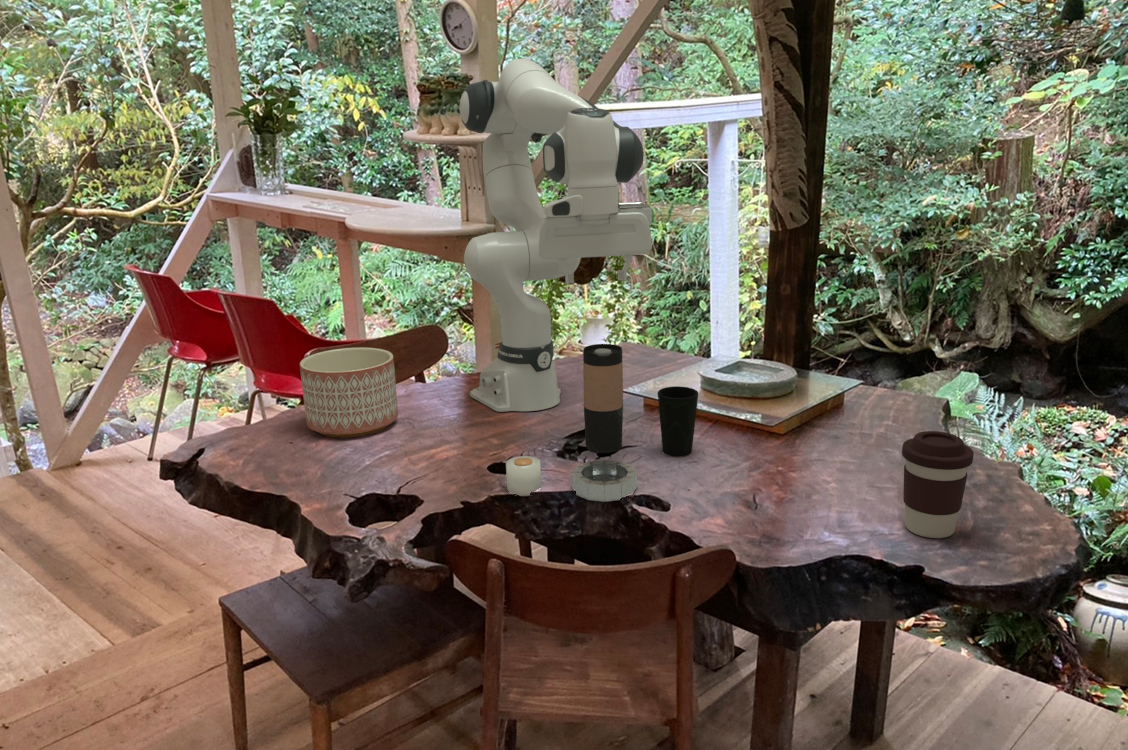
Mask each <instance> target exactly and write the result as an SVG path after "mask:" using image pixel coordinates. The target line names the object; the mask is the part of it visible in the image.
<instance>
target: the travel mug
mask: <svg viewBox="0 0 1128 750" xmlns="http://www.w3.org/2000/svg"><path fill="white" fill-rule="evenodd" d="M582 355H583V356H582V358H583V360H582V361H583V362H582V365H583V366H582V368H583V369H582V370H583V371H582V372H583V374H582V375H583V414H584V415H583V417H584V418H583V420H584V437H585V438H584V439H585V448H586V450H588V451H589V452H592V453H596V454H610V453H615V452H618V451H620V450H621V449H622V448H623V427H624V425H623V423H624V421H623V419H624V382H623V381H624V379H623V377H624V376H623V375H624V372H623V368H624V367H623V365H624V364H623V348H622V347H621V346H620V345H617V344H613V343H612V344H610V343H597V344H596V343H595V344H589V345H587V346H585V347H583V351H582Z"/></svg>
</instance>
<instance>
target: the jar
mask: <svg viewBox="0 0 1128 750" xmlns="http://www.w3.org/2000/svg"><path fill="white" fill-rule="evenodd" d="M541 467H542V466H541V460H540V459H539V458H537V457H536V456H535V457H534V456H531V455H530V456H529V455H522V456H521V455H520V456H515V457H512V458H510V459H508V460H507V461H506V462H505V469H506V470H505V471H506V474H505V475H506V491H507V490H508V491H509V492H511V493H514V494H517V495H519V496H520V497H528V496H531V495H530V493H531V492H534V491H536V490H537V489H539V488H541V489H542V469H541ZM508 491H507V492H508ZM509 492H508V493H509ZM517 495H516V496H517Z"/></svg>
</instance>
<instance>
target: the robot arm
mask: <svg viewBox="0 0 1128 750" xmlns="http://www.w3.org/2000/svg"><path fill="white" fill-rule="evenodd" d="M459 113H460V117H461V122H462V124H463V126H464V127H465V129H467V130H468V131H471V132H474V133H478V134H483V133H487V134H489V135H488V136H487V137H486V138H485V140H484V142H483V145H482V173H483V179H484V185H485V192H486V196H487V201H488V208H489V211H490V213H491V215H492V216H493V217H494V218H495V219H496V220H498V221H499V222H500V223H503V224H505V225H507V226H509V227H512V228H513V229H514V231H497V232H496V231H495V232H489V233H486V234H485V233H484V234H482V235H478V236H475V237H472V238H471V239H470V240H469V242H468V243H467V245H466V248H465V250H464V255H463V262H464V267H465V269H466V271H467V273H468V275H469V276H470V277H471V278H472V280H474V281H475V282H477V283H478V284H480V285H481V286H482V287H484V288H485V289H486V291H488V292H489V294H490V295H491V297H492V298H493V300H494V302H495V304H496V306H497V310H498V313H499V321H500V328H501V329H500V330H501V341H500V342H498V343H495V344H494V346H495V347H494V349H495V350H496V349H498V351H497V356H496V358H495V359H494V360H492V362H490V363H489V364H488V365H486V366H485V367H484V368H483V369H482V370H480V371H481V372H480V374H479V386H478V387H475V388H473V389H472V390H471V391H469V397H471V398H472V399H474V400H476V401H477V402H479V403H481V404H483V405H485V406H487V407H488V408H490V409H491V410H493V411H495V412H499V413H500V412H502V413H503V412H504V413H505V412H535V411H541V410H548V409H550V408H553V407H556V406H557V405H558V404H560V402H561V397H560V396H561V393H562V392H561V388H559V384H558V378H557V371H556V364H555V361H554V360H553V359H554V355H555V354H554V352H555V351H554V350H555V347H554V342H553V340H552V327H551V323H552V321H551V310H550V307H549V306H548V304H547V303H546V302H545V301H544V300H542V299H541V298H538V297H536V296H534V295H531V294H529V293H526V292H525V291H524V286H523V285H524V283H525V282H531V281H532V282H533V281H544V280H545V281H546V280H556V279H558V278H562V277H564V278H565V279H564V280H565V284H566V285H569V284H575V279H574V278H575V275H574V274H575V272H576V270H577V269H578V267H579V265H580V263H581V260H582V258H600V257H603V258H604V257H616V256H617V257H619V256H620V257H621V256H622V258H623V261H624V262H625V263H624V265H623V267H622V268H621V269H618V270H617V273H616V274H617V281H618V282H624V281H625V282H626V281H627V280H628V276H627V274H628V273H627V272H628V271H629V269H630V266H631V265H632V263H633V256H638V255H639V256H640V255H648V254H649V253H650V252H651V251H652V249H653V243H652V233H651V227H650V226H651V224H652V222H653V210H652V208H651V206H650V205H649V204H646V203H644V201H634V202H629V201H627V202H626V201H624V202H622V201H620V202H619V186H618V185H619V184H618V183H621V184H622V183H623V184H624V183H625V184H626V183H629V182H630V181H631V180H632V179H633V178H635V176H636V175H637V174H638V173H639V171H640V170H641V168H642V165H643V164H644V156H645V155H644V153H645V152H644V147H643V144H642V141H641V139H640V138H639V136H638V135H637V134H636V133H635V132H634V131H633V129H631V128H630V127H629V126H622V125H619V124H618V123H616V121H615V120H614V119H613V116H612V114H611V112H609V111H608V110H606V109H603V108H599V107H598V106H596V105H595V104H593V103H592V102H591V101H589V100H588V99H586V98H584V97H583V96H580V95H578V94H576V93H575V92H572V91H571V90H569V89H567V88H566V87H564V86H563V85H561V84H560V83H558V82H557V81H556V80H555V79H554V78H553V77H552V76H551V75H550V73H549V72H548V71H547V70H546V69H545V68H544V67H542V66H541V65H540V64H538V63H536V62H535V61H533V60H531V59H529V58H522V57H521V58H517V59H513V60H511V61H510V62H508V63H507V64H506V65H505V66H504V67H503V68H502V70H501V72H500V76H499V81H488V80H487V79H484V80H480V81H477V82H474V83H470V84H468V85H467V86H466V87H465V88H464V89H463V91H462V93H461V97H460V101H459ZM547 135H549V137H548V138H547V139H546V140H545V142H544V143H543V145H542V161H543V170H544V173H545V174H546V175H547V176H548V177H549V178H550V180H552V181H554V182H555V183H557V184H561V185H562V184H563V185H567V194H566V195H565V196H563V197H562V196H561V197H558V198H557V199H555V200H552V201H549V202H547V203H545V204H544V205H543V204H542V203H541V202H542V201H541V200H540V197H539V194H538V190H537V186H536V181H535V176H534V171H533V167H532V162H531V159H530V155H529V143H530V140H532V141H533V143H536V144H538V143H540V142H541V141H542V139H543V137H545V136H547Z"/></svg>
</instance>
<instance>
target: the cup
mask: <svg viewBox="0 0 1128 750" xmlns="http://www.w3.org/2000/svg"><path fill="white" fill-rule="evenodd" d="M657 400H658V401H657V402H658V410H659V411H658V413H659V422H660V423H659V425H660V434H661V435H660V436H661V445H662V452H663V454H664V455H666V456H668V457H672V458H673V457H675V458H682V457H688V456H690V455H691V454H692V452H693V446H694V445H693V443H694V442H693V441H694V435H695V425H696V418H697V410H698V401H699V391H698V390H697V389H695V388H692V387H687V386H676V385H675V386H666V387H663V388H660V389H659V390H658V391H657Z"/></svg>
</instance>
